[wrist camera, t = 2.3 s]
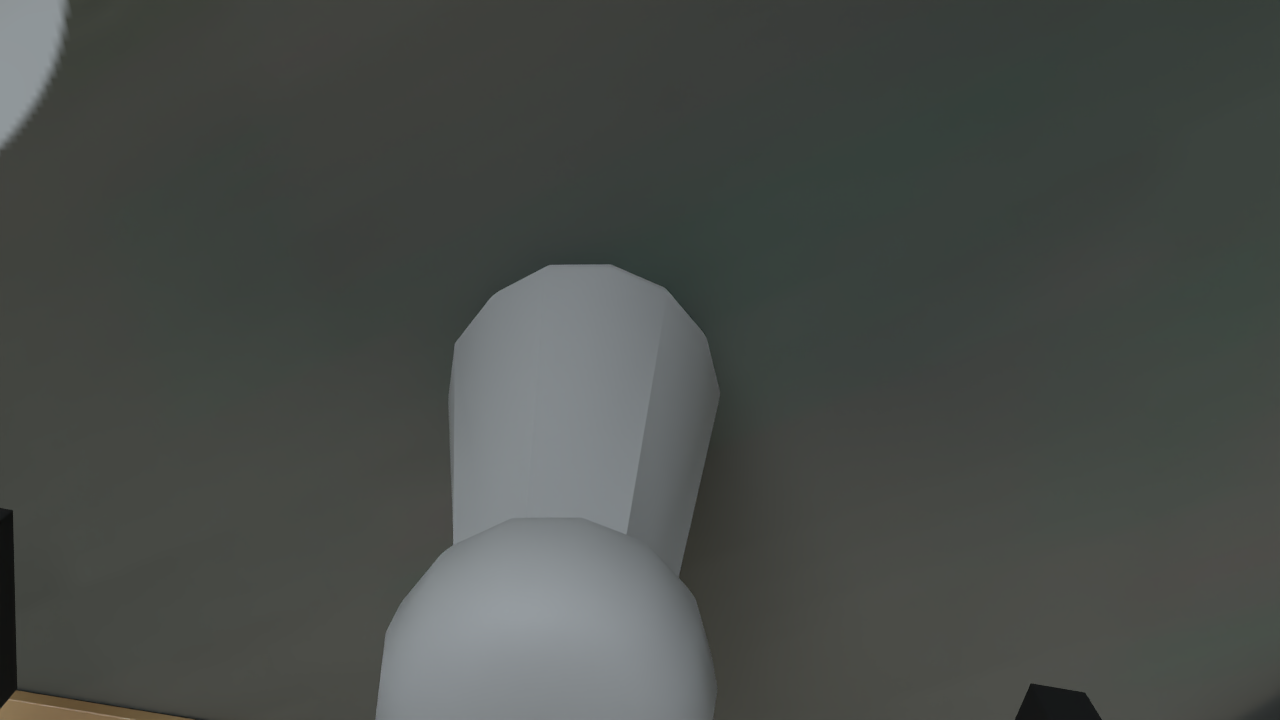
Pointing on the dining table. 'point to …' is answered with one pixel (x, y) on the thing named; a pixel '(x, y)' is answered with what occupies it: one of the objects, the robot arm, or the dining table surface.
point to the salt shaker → (565, 513)
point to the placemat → (69, 709)
